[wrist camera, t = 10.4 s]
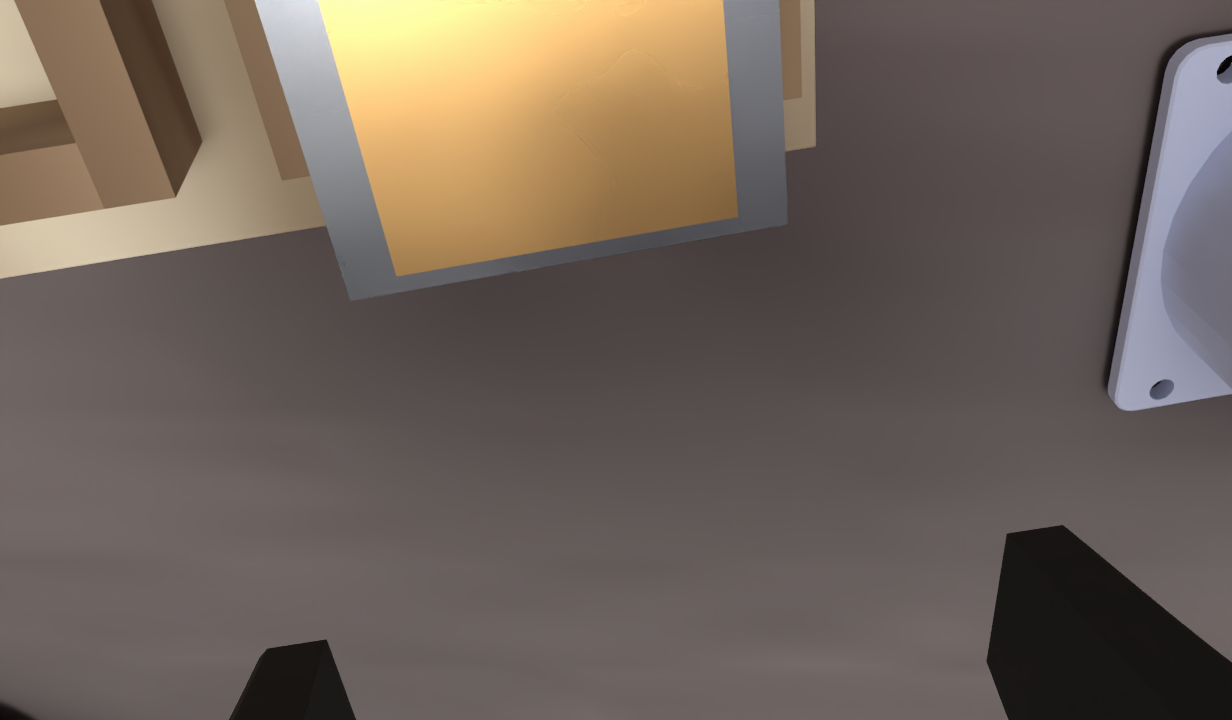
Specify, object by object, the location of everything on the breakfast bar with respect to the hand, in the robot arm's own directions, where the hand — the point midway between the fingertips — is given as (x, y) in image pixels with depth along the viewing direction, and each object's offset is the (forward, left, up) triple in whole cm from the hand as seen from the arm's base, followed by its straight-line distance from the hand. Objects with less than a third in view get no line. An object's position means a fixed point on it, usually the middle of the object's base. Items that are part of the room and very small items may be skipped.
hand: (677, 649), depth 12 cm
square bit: (+1, -6, -9) cm, 11 cm away
